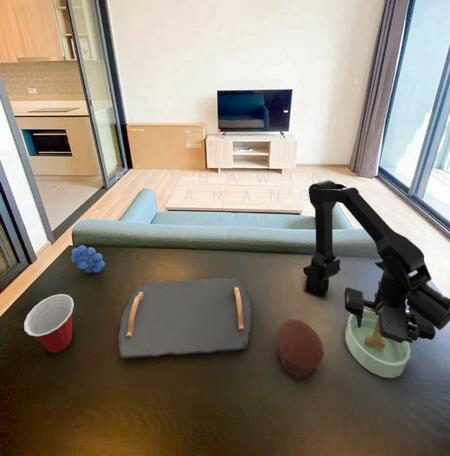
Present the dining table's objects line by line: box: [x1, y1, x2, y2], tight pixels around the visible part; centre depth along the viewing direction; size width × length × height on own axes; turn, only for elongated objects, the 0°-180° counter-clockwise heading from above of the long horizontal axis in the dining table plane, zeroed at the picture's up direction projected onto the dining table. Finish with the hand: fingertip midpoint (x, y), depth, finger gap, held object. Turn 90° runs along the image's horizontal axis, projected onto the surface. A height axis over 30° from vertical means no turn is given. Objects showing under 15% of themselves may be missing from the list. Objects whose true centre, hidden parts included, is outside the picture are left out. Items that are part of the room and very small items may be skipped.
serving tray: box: [117, 277, 253, 359], centre depth 73 cm, size 39×23×6 cm, turn 94°
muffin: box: [276, 318, 325, 379], centre depth 63 cm, size 12×11×10 cm
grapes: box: [70, 245, 106, 274], centre depth 88 cm, size 12×7×12 cm, turn 88°
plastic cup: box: [23, 293, 75, 354], centre depth 66 cm, size 11×11×12 cm
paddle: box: [364, 316, 386, 351], centre depth 65 cm, size 4×2×11 cm, turn 67°
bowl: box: [344, 309, 411, 379], centre depth 66 cm, size 14×14×6 cm
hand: (378, 333), depth 65 cm, fingers open, 9 cm apart
